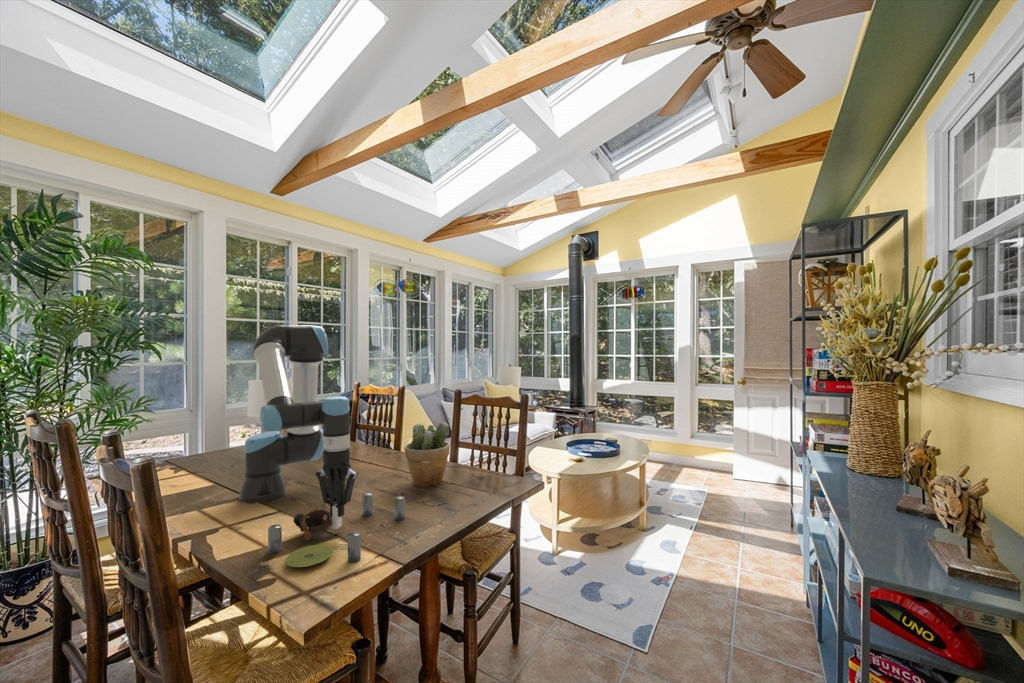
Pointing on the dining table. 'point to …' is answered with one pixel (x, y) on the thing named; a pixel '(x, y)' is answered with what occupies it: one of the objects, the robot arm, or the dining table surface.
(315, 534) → the pottery mug
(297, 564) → the green disc
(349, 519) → the dining table surface
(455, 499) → the dining table surface
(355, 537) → the posts
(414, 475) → the potted plant
